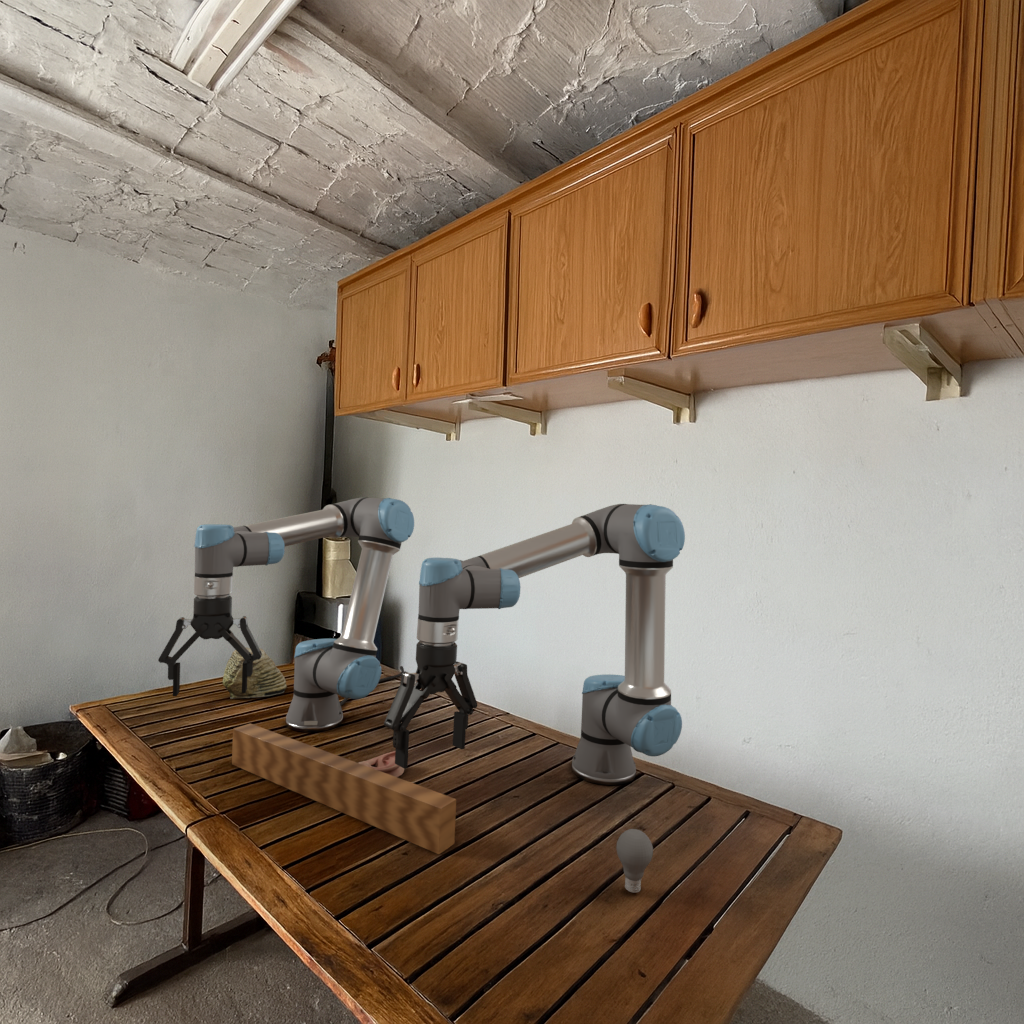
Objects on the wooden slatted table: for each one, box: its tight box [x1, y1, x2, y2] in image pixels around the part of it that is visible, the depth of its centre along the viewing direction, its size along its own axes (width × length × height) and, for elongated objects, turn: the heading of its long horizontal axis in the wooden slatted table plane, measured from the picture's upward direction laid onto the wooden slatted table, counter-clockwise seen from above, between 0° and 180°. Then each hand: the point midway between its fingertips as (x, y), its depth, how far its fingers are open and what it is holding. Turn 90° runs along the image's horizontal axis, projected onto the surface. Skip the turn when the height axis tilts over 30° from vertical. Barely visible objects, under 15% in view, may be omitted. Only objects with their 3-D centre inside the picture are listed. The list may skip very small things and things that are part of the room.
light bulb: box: [615, 828, 654, 894], centre depth 106 cm, size 6×6×10 cm
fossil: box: [222, 646, 288, 699], centre depth 198 cm, size 9×18×15 cm, turn 132°
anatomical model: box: [358, 750, 405, 778], centre depth 146 cm, size 13×4×12 cm
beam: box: [231, 723, 457, 855], centre depth 133 cm, size 62×5×8 cm, turn 57°
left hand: (210, 692), depth 138 cm, fingers open, 13 cm apart
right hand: (430, 756), depth 117 cm, fingers open, 13 cm apart
